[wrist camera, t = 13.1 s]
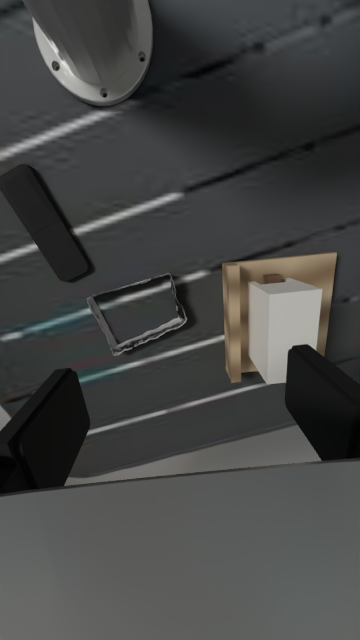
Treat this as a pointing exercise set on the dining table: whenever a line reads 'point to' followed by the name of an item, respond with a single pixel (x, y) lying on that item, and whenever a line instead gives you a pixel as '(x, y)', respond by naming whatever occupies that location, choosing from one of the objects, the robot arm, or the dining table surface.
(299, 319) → the light grey block
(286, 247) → the dining table surface
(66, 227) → the remote control
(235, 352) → the cleat board
